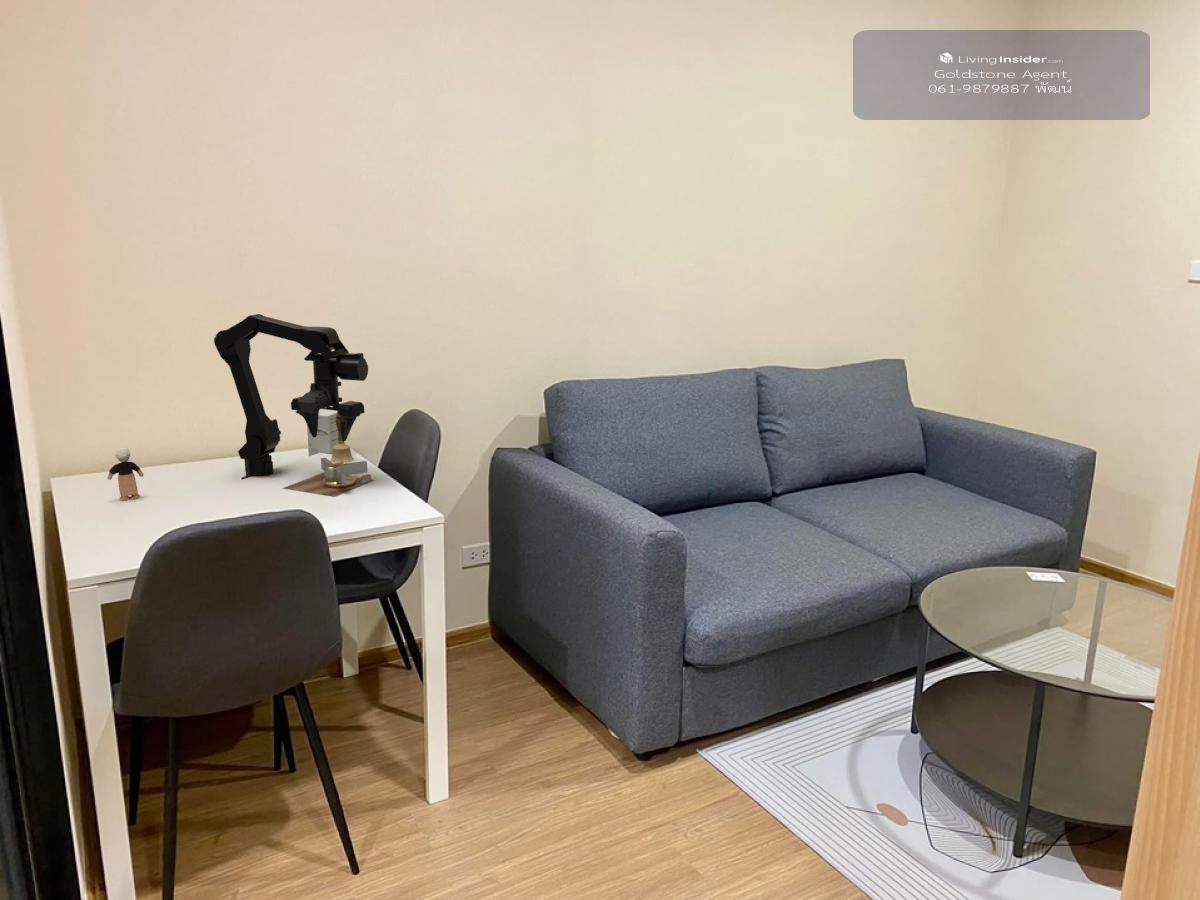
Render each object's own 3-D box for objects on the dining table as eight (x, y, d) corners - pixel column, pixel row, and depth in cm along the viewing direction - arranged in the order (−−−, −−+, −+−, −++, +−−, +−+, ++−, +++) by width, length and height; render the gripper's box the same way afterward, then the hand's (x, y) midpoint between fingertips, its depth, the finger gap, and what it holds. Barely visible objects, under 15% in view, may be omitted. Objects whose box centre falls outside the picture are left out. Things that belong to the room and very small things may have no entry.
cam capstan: (334, 493, 225) (333, 473, 223) (314, 476, 238) (313, 457, 237) (378, 487, 230) (377, 467, 229) (356, 471, 244) (355, 452, 243)
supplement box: (307, 456, 264) (305, 413, 260) (322, 450, 271) (319, 408, 267) (330, 459, 262) (328, 415, 259) (344, 452, 269) (342, 410, 266)
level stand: (282, 494, 230) (281, 482, 229) (324, 477, 244) (323, 466, 243) (335, 502, 224) (334, 490, 223) (375, 485, 238) (374, 474, 237)
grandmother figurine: (141, 493, 228) (136, 443, 224) (147, 497, 225) (141, 446, 222) (108, 499, 222) (101, 448, 219) (113, 503, 220) (107, 452, 217)
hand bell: (333, 460, 260) (330, 405, 256) (362, 462, 260) (359, 406, 256) (322, 468, 252) (318, 411, 248) (351, 470, 252) (348, 412, 248)
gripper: (273, 380, 227) (278, 442, 231) (335, 387, 221) (339, 450, 225) (304, 373, 237) (307, 432, 241) (364, 379, 231) (367, 440, 235)
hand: (329, 439), depth 235 cm, fingers open, 9 cm apart
